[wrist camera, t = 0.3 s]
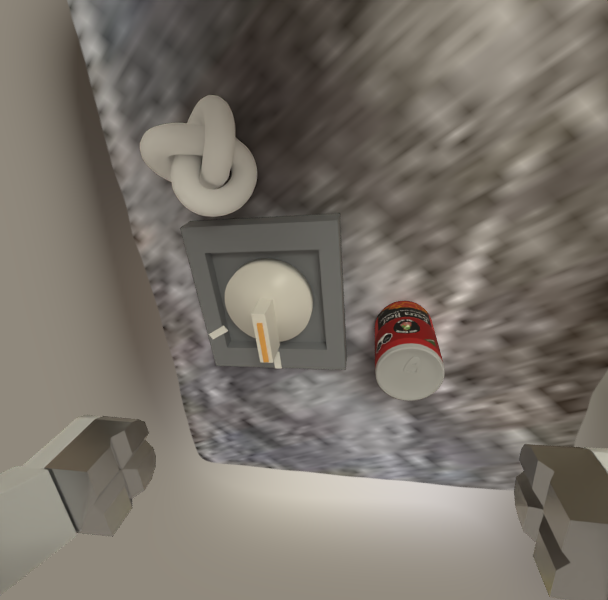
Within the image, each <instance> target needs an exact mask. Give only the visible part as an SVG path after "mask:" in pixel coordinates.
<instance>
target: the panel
mask: <svg viewBox="0 0 608 600" xmlns="http://www.w3.org/2000/svg"><path fill="white" fill-rule="evenodd" d="M180 229H181V233H182V237H183V241H184V245H185V248H186V252H187V256H188V260H189V264H190V268H191V271H192V275H193V279H194V283H195V287H196V290H197V294H198V298H199V302H200V306H201V309H202V313H203V317H204V321H205V325H206V329H207V332H208V336H209V340H210V344H211V348H212V351H213V355H214V359H215V363H216V366H240V367H271V368H276V369H282V368H303V369H335V370H346V361H347V350H346V329H345V309H344V289H343V268H342V248H341V227H340V214H321V215H301V216H282V217H262V218H242V219H222V220H203V221H190V222H188V223H187V224H185V225H184V226H182V227H181V228H180ZM261 258H271V259H277V260H281V261H283V262H286V263H288V264H290V265H292V266H293V267H295V268H296V269H297V270H298V271H300V272H301V273H302V274H303V276H304V277H305V278H306V280H307V281H308V283H309V285H310V287H311V289H312V293H313V299H314V304H313V310H312V313H311V316H310V320H309V322H308V324H307V326H306V327H305V329H304V330H303V331H302V332H301V333H300V334H298V335H297V336H295V337H294V338H292V339H289V340H286V341H281V342H280V346H279V349H278V352H277V354H276V357H275V359H274V362H273V363H265V362H260V358H259V353H258V348H257V343H256V338H253V337H251V336H249V335H247V334H246V333H244V332H243V331H242V330H241V329H239V328H238V327H237V326H236V325H235V323H234V322H233V321H232V319H231V318H230V316H229V314H228V312H227V309H226V306H225V290H226V286H227V284H228V282H229V280H230V279H231V277H232V276H233V275H234V274H235V272H236V271H237V270H238V269H239V268H240V267H241V266H243V265H244V264H246V263H247V262H249V261H252V260H255V259H261Z"/></svg>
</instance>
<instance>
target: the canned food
mask: <svg viewBox="0 0 608 600" xmlns="http://www.w3.org/2000/svg"><path fill="white" fill-rule="evenodd" d="M375 375H376V379H377V383H378V385H379V386H380V388H381V389H382V390H383V391H384V392H385V393H386V394H388V395H389V396H391V397H393V398H396V399H399V400H405V401H414V400H420V399H423V398H426V397H428V396H430V395H431V394H433V393H434V392H436V390H437V389H438V388H439V387H440V386H441V384H442V382H443V379H444V365H443V361H442V356H441V353H440V349H439V346H438V342H437V338H436V335H435V331H434V328H433V324H432V320H431V318H430V315H429V314H428V313H427V311H426V310H425V309H424V308H422V307H421V306H420V305H418V304H416V303H414V302H410V301H398V302H394V303H392V304H390V305H388V306H387V307H385V308H384V309H383V310H382V311H381V313H380V314H379V316H378V317H377V320H376V323H375Z"/></svg>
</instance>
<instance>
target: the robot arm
mask: <svg viewBox="0 0 608 600" xmlns="http://www.w3.org/2000/svg"><path fill="white" fill-rule="evenodd" d="M148 434H149V432H148V429H147V426H146V424H145V422H144V421H141V420H139V419H129V418H118V417H108V416H102V417H101V416H92V415H83V416H81V417H77V418H76V419H75V420H74V421H73V422H72V423H70V424H69V425H68V426H67V427H66V428H65V429H63V430H62V431H61V432H60V433H59V434H58V435H57V436H56V437H54V438H53V439H52V440H51V441H50V442H49V443H48V444H47V445H45V446H44V447H43V448H42V449H41V450H40V451H39V452H37V453H36V454H35V455H34V456H33V457H32V458H31V459H30V460H28V461H27V462H26V463H25V464H24V465H23V466H22V467H18V466H15V467H13V468H11V469H9V470H7V471H5V472H3V473H1V474H0V595H2V594H3V593H4V592H6V591H7V590H8V589H9V588H11V587H12V586H13V585H15V584H16V583H17V582H18V581H20V580H21V579H22V578H23V577H25V576H26V575H27V574H29V573H30V572H31V571H32V570H34V569H35V568H36V567H38V566H39V565H40V564H41V563H43V562H44V561H45V560H47V559H48V558H49V557H50V556H51V555H53V554H54V553H56V552H57V551H58V550H59V549H60V548H62V547H63V546H64V545H66V544H67V543H68V542H70V541H71V540H72V539H73V538H75V537H76V536H77V533H82V534H92V535H102V536H112V537H113V536H114V534H115V533H116V531H117V530H118V528H119V527H120V525H121V524H122V522H123V521H124V519H125V518H126V517H127V515H128V514H129V512H130V511H131V509H132V498H134V497H135V496H137V495H138V494H140V493H141V492H143V491H144V490H145V489H146V487H147V485H148V484H149V482H150V481H151V479H152V476H153V473H154V470H155V467H156V455H155V452H154V449H153V447H152V446H151V445H150V444H149V443H148V442H147V441H146V438H147V436H148ZM519 461H520V463H521V465H522V468H523V470H524V471H523V472H522V473H521V474H519V475H518V476H517V477H516V480H515V487H514V496H515V506H516V510H517V514H518V518H519V521H520V523H521V526H522V529H523V531H524V532H525V533H526V534H527V535H528V536H529V537H530V538H531V539H532V540H533V541H534V542H536V544H535V549H534V554H533V557H534V559H535V562H536V564H537V567H538V570H539V572H540V575H541V577H542V580H543V582H544V585H545V587H546V590H547V592H548V595H549V597H553V598H559V599H565V600H608V448H590V447H589V448H588V447H584V448H580V447H565V446H548V445H530V444H524V446H523V447H522V449H521V452H520V457H519Z"/></svg>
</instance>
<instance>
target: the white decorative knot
mask: <svg viewBox="0 0 608 600" xmlns="http://www.w3.org/2000/svg"><path fill="white" fill-rule="evenodd" d="M140 152H141V156H142V158H143V161H144V162H145V163H146V164H147V166H148V167H149V168H150V169H151V170H153V171H154V172H155V173H156V174H157V175H159V176H161V177H162V178H164V179H166V180H168V181H170V182H172V188H173V191H174V193H175V195H176V196H177V198H178V199H179V201H180V202H181V203H182V204H183V205H184V206H185V207H186V208H187V209H189V210H190V211H192V212H194V213H196V214H198V215H202V216H209V217H217V216H223V215H227V214H230V213H233V212H234V211H236V210H238V209H239V208H241V207H242V206H243V205H244V204H245V203H246V202H247V201H248V199H249V198H250V196H251V195H252V193H253V190H254V188H255V186H256V182H257V167H256V162H255V160H254V157H253V155H252V153H251V152H250V150H249V149H248V148H247V147H246V146H245V145H244V144H243V143H242V142H241V141H239V140H238V139H237V138H236V137H235V122H234V117H233V113H232V111H231V109H230V107H229V105H228V103H227V102H226V101H225V100H223V99H222V98H221V97H219V96H216V95H207V96H206V97H204V98H202V99H201V100H199V102H198V103H197V104H196V106H195V107H194V109H193V111H192V113H191V115H190V117H189V119H188V122H187V123H167V124H162V125H158V126H155V127H153V128H151V129H149V130H148V131H146V132H145V133H144V135H143V137H142V139H141V142H140ZM230 169H231V170H232V177H231V179H230V180H229V182H228V183H227V184H225V185H224V183H225V182H226V181H227V179H228V177H229V173H230ZM223 185H224V186H223ZM221 186H223V187H221ZM219 187H221V188H219ZM217 188H219V189H217Z"/></svg>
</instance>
